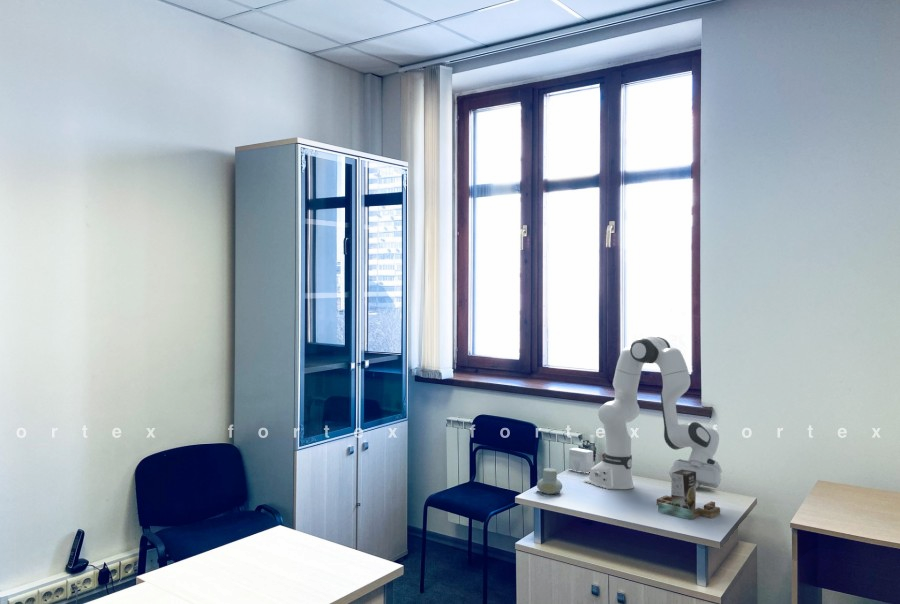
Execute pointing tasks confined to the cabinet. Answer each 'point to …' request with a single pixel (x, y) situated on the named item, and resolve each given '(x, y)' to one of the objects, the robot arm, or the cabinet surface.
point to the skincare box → (580, 459)
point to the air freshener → (549, 482)
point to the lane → (667, 508)
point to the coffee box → (684, 489)
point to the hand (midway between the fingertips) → (688, 491)
